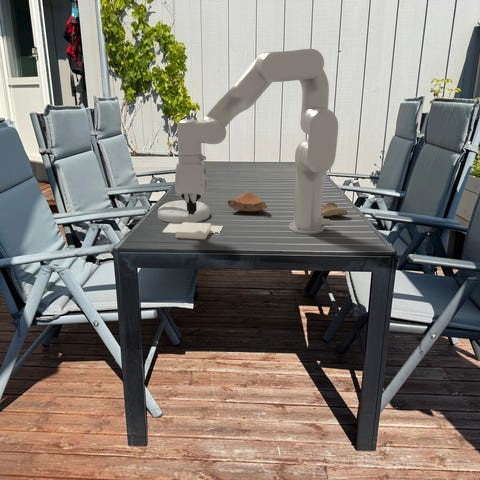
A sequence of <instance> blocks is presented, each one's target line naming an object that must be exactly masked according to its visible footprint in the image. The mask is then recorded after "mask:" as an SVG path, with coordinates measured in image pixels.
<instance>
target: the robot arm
mask: <svg viewBox="0 0 480 480" xmlns="http://www.w3.org/2000/svg"><path fill="white" fill-rule="evenodd" d="M324 67H325V59H324V56H323V54H322V53H321V52H320V51H319V50H317V49H315V48H302V49H301V48H300V49H294V50H287V51H284V50H282V51H266V52H262V53H260V54H259V55H258V56H257V57H256V58H255V60H254V61H253V62H251V64H250V65H249V67H248V68H247V69H246V70H245V71H244V72H243V74H242V75H241V76H240V77H239V78H238V80H237V81H236V82H235V83H234V84H233V86H232V87H230V89H229V90H227V92H226V93H225V94H223V96H222V97H221V98H220V99H219V100H218V101H217V102H216V103H215V105H214V106H213V107H211V109H210V110H209V112H207V114H206V115H205V116H204V118H203V119H202V120H201V121H199V120H197V119H182V120H179V121H178V122H177V126H176V128H177V129H176V130H177V131H176V132H177V135H176V136H177V153H178V155H177V156H178V157H177V158H178V162H177V163H176V167H175V175H174V176H175V178H174V189H175V193H174V194H175V196H176V197H179V198H182V200H185V202H186V203H187V211H188V213H189V214H192V215H193V214H194V213H195V211H196V210H197V205H196V202H197V201H198V202H199V199H203V198H207V196H208V192H207V190H208V180H207V169H206V165H205V162H204V161H207V156H206V155H203V151H202V144H207V145H219V144H221V143H222V142H223V141H224V140H225V139H226V137H227V129H226V127H227V126H228V125H229V124H230V123H231V122H232V120H234V119H235V117H237V116H238V115H240V114H241V113H244V111H247V110H249V109H250V108H251V107H252V106H253V105H254V104H255V103H256V102H257V101H258V99H259V98H260V97H261V96H262V95H263V94H264V93H265V91H266V90H267V89H268V88H269V87H270V85H272V83H278V82H279V83H280V82H281V83H282V82H293V81H299V82H300V86H301V90H302V91H301V92H302V96H301V109H300V110H301V112H300V120H299V123H300V124H299V125H300V128H301V130H302V132H304V133H305V134H306V135H308V138H306V139H304V140H302V141H301V142H300V143H298V145H297V147H296V149H295V153H294V164H295V165H294V166H295V187H294V206H293V207H294V208H293V221H291V222H290V223H289V224H288V228H289V230H290V231H291V232H294V233H296V234H304V235H305V234H306V235H310V234H311V235H314V234H320V233H322V232H324V231H325V226H328V227H334V224H335V222H334V220H330V218H323V217H322V216H323V215H322V214H321V210H322V207H323V206H322V203H323V190H324V189H323V188H324V174H325V173H327V172H329V171H330V169H331V168H332V167H333V165H334V163H335V160H336V155H337V154H336V153H337V146H338V134H339V121H338V117H337V116H336V114H335V113H334V112H333V111H332V110H331V109H329V96H330V95H329V94H330V87H329V86H330V85H329V80H328V79H329V78H328V77H327V74H326V72H325V70H324ZM191 195H192V197H191ZM191 200H192V201H191Z"/></svg>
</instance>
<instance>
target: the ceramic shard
mask: <svg viewBox="0 0 480 480" xmlns="http://www.w3.org/2000/svg"><path fill="white" fill-rule="evenodd" d="M227 205H228V206H229V207H230V208H232V209H233V210H236V211H237V210H238V211H243V212H244V211H245V212H258V211H263V210H265V209H268V206H267V204H266V203H265V201H263V200H262V199H261V198H260V197H258V196H257V195H255V194H254V193H251V192H250V191H249V190H246V191H244V192H243V193H242V194H241V195H239V196H238V197H235V198H233V199H229V200H228V201H227Z"/></svg>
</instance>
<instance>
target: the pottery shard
mask: <svg viewBox="0 0 480 480" xmlns="http://www.w3.org/2000/svg"><path fill="white" fill-rule="evenodd" d="M337 214H338V215H341V216H347V215H349V213H348V211H347V209H344V208H338V206H337V203H336V202H328V203H325V204H324V205H323V206H322V208H321V216H323V217H332V216H335V215H337Z"/></svg>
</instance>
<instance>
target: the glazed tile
mask: <svg viewBox="0 0 480 480" xmlns="http://www.w3.org/2000/svg"><path fill="white" fill-rule="evenodd" d="M180 224H181V225H180V227H179V228H178V229H177V231H176V233H175V238H176V239H190V240H191V239H192V240H193V239H195V240H206V239H207V237H208V236H209V235H210V234H209V233H210V231H211V225H212V223H209V222H208V223H207V222H194V223H190V222H183V223H180Z"/></svg>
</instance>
